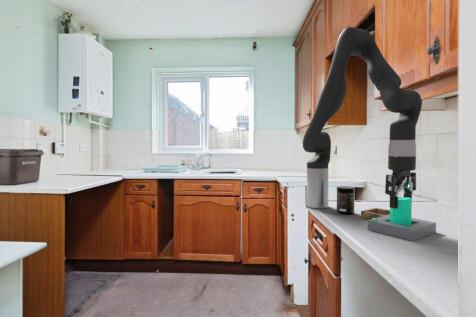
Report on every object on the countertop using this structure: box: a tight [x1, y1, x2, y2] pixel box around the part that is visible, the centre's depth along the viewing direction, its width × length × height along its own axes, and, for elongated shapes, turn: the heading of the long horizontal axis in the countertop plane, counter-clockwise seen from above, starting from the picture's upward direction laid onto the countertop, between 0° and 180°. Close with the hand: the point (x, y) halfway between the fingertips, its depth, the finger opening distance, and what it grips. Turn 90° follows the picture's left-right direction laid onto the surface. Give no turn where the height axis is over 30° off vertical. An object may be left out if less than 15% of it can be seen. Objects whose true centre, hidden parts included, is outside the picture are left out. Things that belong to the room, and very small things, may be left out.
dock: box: [367, 214, 437, 242], centre depth 91 cm, size 14×14×4 cm
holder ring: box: [360, 207, 390, 220], centre depth 106 cm, size 10×10×2 cm
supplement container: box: [336, 185, 356, 216], centre depth 115 cm, size 7×7×10 cm
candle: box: [389, 193, 413, 226], centre depth 90 cm, size 6×6×12 cm
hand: (400, 206), depth 91 cm, fingers open, 8 cm apart
